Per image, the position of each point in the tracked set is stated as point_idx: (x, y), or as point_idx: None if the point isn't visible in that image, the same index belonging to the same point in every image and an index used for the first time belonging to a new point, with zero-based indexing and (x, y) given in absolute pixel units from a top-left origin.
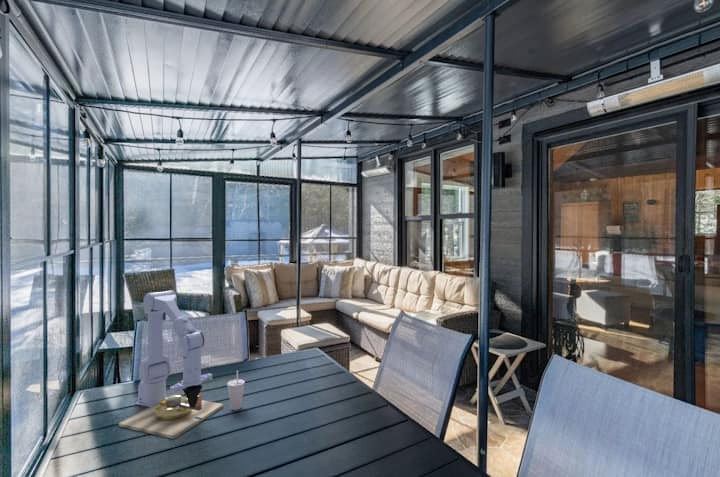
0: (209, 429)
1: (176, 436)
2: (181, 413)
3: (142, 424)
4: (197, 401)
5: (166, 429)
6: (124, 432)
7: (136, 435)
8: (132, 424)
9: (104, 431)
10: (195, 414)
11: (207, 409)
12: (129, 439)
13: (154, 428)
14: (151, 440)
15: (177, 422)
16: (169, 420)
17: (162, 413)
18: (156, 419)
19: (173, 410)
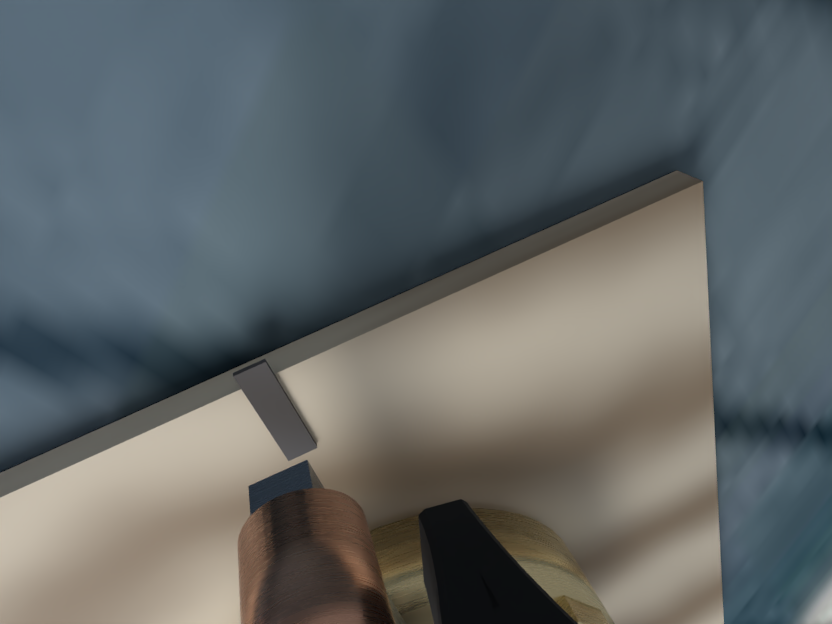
0: (259, 39)
1: (648, 188)
2: None
3: (673, 562)
4: (367, 616)
5: (641, 376)
6: (750, 534)
7: (751, 454)
8: (701, 591)
9: (780, 596)
10: None
11: (66, 563)
12: (807, 426)
13: (676, 456)
14: (768, 304)
15: (497, 448)
16: None
17: (606, 610)
18: None
19: None
